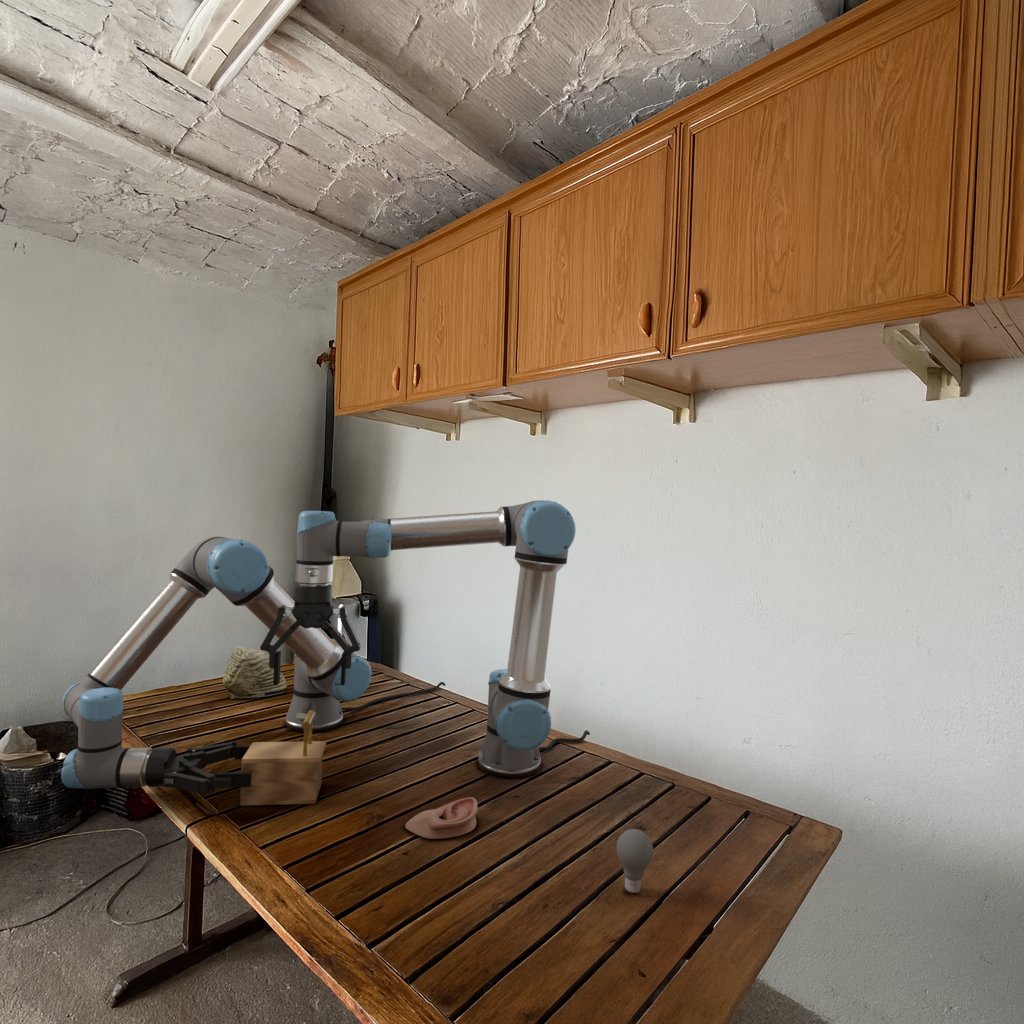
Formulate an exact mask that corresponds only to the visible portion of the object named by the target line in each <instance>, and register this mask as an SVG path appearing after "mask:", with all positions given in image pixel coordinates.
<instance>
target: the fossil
mask: <svg viewBox="0 0 1024 1024" xmlns="http://www.w3.org/2000/svg"><path fill="white" fill-rule="evenodd" d="M222 676H223V677H222V685H223V687H224V688H225V690H226V691H228V693H229V698H230V699H250V698H264V697H271V696H275V695H281V694H284V693H285V691H286V689H287V687H288V686H287V680H286V678H285V676H284V674H283V673H282V672H281V671H280V682H279V684H278V685H273V684H274V668H270V667H269V654H267V653H266V651H262V650H261V649H260V647H258V648H251V647H247V646H246V647H245V646H238V647H237V648H236V649H235V650H233V651H232V653H231V656H230V657H229V659H228V660H227V663H226V666H225V668H224V671H223V675H222Z"/></svg>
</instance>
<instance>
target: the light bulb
mask: <svg viewBox="0 0 1024 1024" xmlns="http://www.w3.org/2000/svg"><path fill="white" fill-rule="evenodd" d="M615 849H616V854H617V857H618V859H619V861H620V863H621V865H622V867H623V873H624V874H623V875H624V876H625V878H624V888H625V890H627V891H628V892H630V893H634V894H635V893H639V892H640V891H641V889H642V887H641V886H642V879H643V877H644V875H645V871H646V868H647V867H648V866H649V864H650V863H651V861H652V859H653V855H654V847H653V843H652V841H651V838H649V836H648V835H647V834H646V833H645V832H643V831H642V830H641V829H636V828H629V829H627V830H625V831H623V832H622V833H621V834H620V835H619V837H618V839H617V841H616V847H615Z"/></svg>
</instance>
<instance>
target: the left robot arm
mask: <svg viewBox="0 0 1024 1024" xmlns="http://www.w3.org/2000/svg"><path fill="white" fill-rule="evenodd" d="M214 588H215V589H216V590H218V591H219V592H220V593H221V594H222V595H223V596H224V598H226V599H227V600H228V601H229V602H230V603H231V604H232V605H233V606H235V607H243V606H244V607H245V608H246V609H248V610H249V611H250V612H251V613H252V614H253V615H254V616H255V617H256V618H257V619H258V620H259V621H260V622H261V623H262V624H263V625H264V626H265V627H266V628H267V629H269V630H270V629H271V627H272V625H273V623H274V622H275V620H276V618H277V614H278V609H279V607H281V606H282V605H285V606H286V607H294V603H295V599H293V598H292V597H291V595H289V594H288V593H287V592H286V591H285V590H284V589H283V588H282V587H281V585H279V583H277V581H275V570H274V569H273V568H272V567H271V566H270V565H269V562H268V559H267V556H266V555H265V553H264V551H262V550H261V548H260V547H258V546H257V545H256V544H253V543H252V542H250V541H247V540H245V539H239V538H237V539H236V538H230V537H229V538H228V537H225V536H211V537H208V538H205V539H202V540H201V541H200V542H198V543H197V544H195V545H194V546H193V547H192V548H191V549H190V550H189V551H188V552H187V553H186V554H185V556H183V558H181V560H180V561H179V563H178V564H177V565H176V566H175V567H174V568H173V569H172V570H171V572H169V581H168V582H167V583H166V584H165V585H164V587H162V589H161V590H160V591H159V592H158V593H157V594H156V595H155V597H154V598H153V599H152V600H151V602H149V604H148V605H147V606H146V607H145V609H143V610H142V612H141V613H140V614H139V615H138V616H137V618H136V619H135V620H134V621H133V622H132V623H131V624H130V626H129V627H128V628H127V629H126V630H125V631H124V632H123V634H122V635H121V636H120V637H119V638H118V640H116V642H115V643H114V644H113V645H112V646H111V647H110V649H109V650H108V651H107V652H106V653H105V654H104V655H103V657H102V658H101V659H100V660H99V661H98V663H97V664H96V665H95V666H94V667H93V668H92V669H91V671H90V672H89V673H88V674H87V675H86V676H85V677H84V678H83V679H82V680H80V681H77V682H75V683H73V684H71V685H70V686H69V687H68V688H67V689H66V690H65V691H64V694H63V696H62V701H61V703H62V706H63V709H64V712H65V714H66V715H67V716H68V717H69V719H71V720H72V722H73V723H74V724H75V726H77V730H78V732H77V733H78V735H77V736H78V737H77V738H78V739H77V748H75V749H72V750H71V751H69V753H68V754H67V755H66V757H65V758H64V760H63V764H62V768H61V772H60V777H61V778H60V779H61V782H62V784H63V785H64V786H65V787H66V788H68V789H81V790H82V789H85V790H93V789H94V790H95V789H113V788H114V789H117V788H120V789H121V788H123V789H124V788H132V789H133V790H136V789H138V788H145V787H147V786H148V788H168V789H169V788H173V789H178V790H182V791H187V792H192V793H195V794H201V795H207V794H208V795H209V794H214V793H215V789H225V788H227V789H228V788H241V787H250V786H251V773H252V772H241V771H236V772H235V771H233V772H216V774H212V773H210V772H208V771H205V770H204V769H205V768H206V767H207V766H209V765H213V764H216V763H220V762H223V761H227V760H230V759H233V758H234V760H237V761H238V760H242V758H243V757H244V755H245V754H246V752H247V751H248V749H249V748H250V746H251V745H238V742H237V741H236V740H235V741H229V742H223V743H217V744H211V745H206V746H200V747H188V748H186V753H183V754H180V755H179V754H178V753H177V750H176V749H175V748H174V747H155V748H153V747H122V744H123V725H124V724H123V721H124V709H125V703H124V693H123V692H122V691H123V689H124V688H125V686H126V685H127V684H128V683H129V681H131V679H132V678H133V676H134V675H136V673H137V672H138V671H139V669H140V668H141V667H142V666H143V664H144V663H145V662H146V661H147V660H148V659H149V658H150V656H151V655H152V654H153V653H154V652H155V650H156V649H157V648H158V647H159V646H160V644H162V642H163V641H164V640H165V639H166V637H167V636H168V635H169V634H170V633H171V632H172V630H173V629H174V628H175V627H176V625H178V623H179V622H180V621H181V620H182V618H184V617H185V615H186V613H188V611H189V610H190V609H191V608H192V607H193V605H194V604H195V603H196V602H197V601H198V600H199V599H204V598H206V596H207V595H209V593H210V592H211V591H212V590H213V589H214ZM296 621H297V620H296V619H295V617H294V616H293V614H292V613H289V615H288V616H287V617H285V618H284V620H283V621H282V623H281V625H280V627H279V629H278V630H277V632H276V634H275V636H276V638H278V640H279V639H280V638H281V637H282V636H283V634H284V633H285V632H286V631H287V630H288V629H289V628H290V627H291V626H292V625H293V624H294V623H295V622H296ZM283 645H285V646H286V647H287V648H288V649H289V650H290V651H291V652H292V653H293V654H294V655H293V657H294V672H293V695H292V696H293V697H292V699H291V702H290V704H289V708H288V711H287V713H286V715H285V726H286V728H287V729H289V730H291V731H294V732H295V731H296V732H301V733H304V729H303V728H302V724H303V722H304V720H305V718H306V716H307V714H308V712H309V711H310V710H313V711H315V717H314V719H313V728H312V733H316V732H325V731H329V730H332V729H335V728H337V727H339V726H340V725H342V723H343V722H344V713H343V711H344V712H345V711H358V710H362V709H364V708H366V707H368V706H370V705H372V704H376V703H378V702H382V701H385V700H389V699H395V698H400V697H406V696H413V695H419V694H423V693H429V692H432V691H437V689H439V688H440V687H441V686H445V687H446V683H445V682H444V681H440V682H439V683H438V684H437V685H435V686H433V687H430V688H425V689H421V690H415V691H410V692H403V693H402V692H401V693H396V694H392V695H387V696H382V697H379V698H375V699H372V700H369V701H368V702H366V703H364V704H361V705H358V706H344V707H343V706H341V702H343V703H350V702H353V701H357V700H358V699H359V698H361V697H362V696H363V695H364V694H365V693H366V691H367V690H368V688H369V686H370V684H371V680H372V675H373V674H372V672H373V671H372V667H371V665H370V663H369V661H367V660H366V659H365V658H364V657H362V656H359V655H357V654H355V652H353V653H352V665H351V667H350V669H346V682H345V685H341V662H342V653H343V652H345V651H344V650H343V649H342V648H341V647H340V645H339V644H338V643H337V642H336V641H335V639H334V638H331V637H329V635H328V634H327V633H326V632H325V631H324V630H323V629H322V627H321V628H319V629H318V628H312V627H311V628H304V627H302V626H299V627H298V628H297V629H296V630H295V631H294V632H293V633H292V634H291V635H290V637H289V638H288V639H287V640H286V641H285V642H284V643H283ZM308 733H309V729H308Z"/></svg>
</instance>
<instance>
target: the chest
mask: <svg viewBox="0 0 1024 1024" xmlns="http://www.w3.org/2000/svg"><path fill="white" fill-rule="evenodd" d="M323 757H324V754H323V755H322V758H321V761H320V762H285V763H242V762H241V769H240V772H252V773H251V786H250V787H240V793H239V795H240V798H239V799H240V800H239V806H242V807H243V806H278V805H309V804H310V805H311V804H313V805H314V804H316V802H317V799H318V796H319V792H320V790H321V787H322V785H323V784H322V783H323V782H322V780H323Z"/></svg>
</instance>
